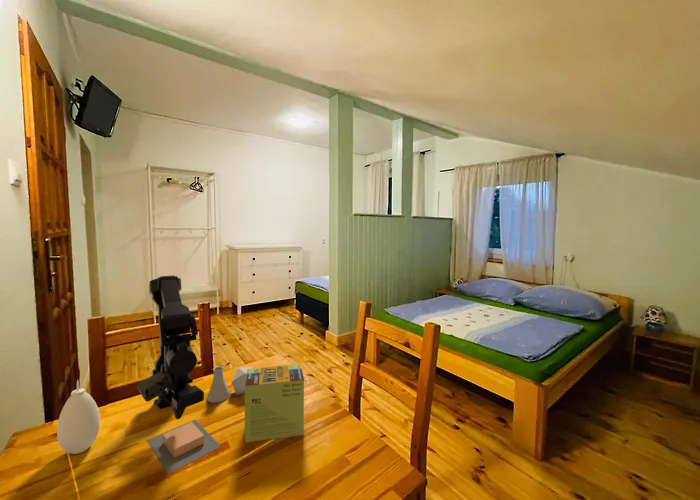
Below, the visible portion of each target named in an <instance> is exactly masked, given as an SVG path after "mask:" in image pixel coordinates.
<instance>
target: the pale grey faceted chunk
mask: <svg viewBox="0 0 700 500" xmlns="http://www.w3.org/2000/svg"><path fill="white" fill-rule="evenodd" d="M255 367H256V366H245V367H238V368H237V369H236V372H235V374H234V376H233V378H232V381H231V386H232V387H233V389H234V392H235V393H236V396H241V395H245V383H246V379H247V373H248V369H252V368H255Z"/></svg>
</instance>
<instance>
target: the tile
mask: <svg viewBox="0 0 700 500" xmlns="http://www.w3.org/2000/svg"><path fill="white" fill-rule="evenodd" d="M189 422H190V421H189ZM187 423H188V422H187ZM185 424H186V423H185ZM182 425H183V424H182ZM180 426H181V425H180ZM178 427H179V426H178ZM175 428H176V427H175ZM173 429H174V428H173ZM171 430H172V429H171ZM168 431H169V430H168ZM166 432H167V431H166ZM164 433H165V432H164ZM163 443H164V444H165V446H166V447H167V448H168V450H169V451H170V453H171V454H172V456H173V457H174V458H175V457H178V456H180V455H182V454H184V453H186V452H188V451H190V450H192V449H194V448H196V447H198V446H200V445H202V444H203V443H204V435H203V434H202V432H201V431H200V430H199V429H198V428H197V427H196V426H195V425H194V424H193V423H192V422H190V423H188V424H186V425H183V426H181V427H179V428H176V429H174V430H172V431H169V432H167V433H165V434H163Z"/></svg>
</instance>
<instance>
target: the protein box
mask: <svg viewBox="0 0 700 500" xmlns="http://www.w3.org/2000/svg"><path fill="white" fill-rule="evenodd" d="M304 406H305V378H304V373H303V368H302V364H301V363H295V364H285V365H275V366H274V365H273V366H272V365H271V366H263V367H256V368H252V369H248V373H247V379H246V383H245V394H244V443H252V442H257V441H258V442H259V441H264V440H265V441H266V440H270V441H272V440H279V439H286V438H293V437H298V436H304V432H305V429H304V428H305V426H304V421H305V419H304V418H305V417H304V416H305V415H304V413H305V407H304Z"/></svg>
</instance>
